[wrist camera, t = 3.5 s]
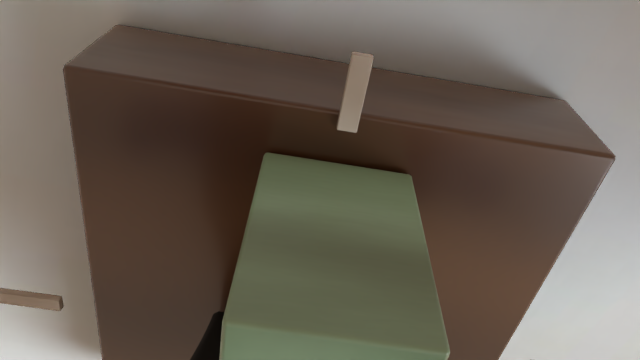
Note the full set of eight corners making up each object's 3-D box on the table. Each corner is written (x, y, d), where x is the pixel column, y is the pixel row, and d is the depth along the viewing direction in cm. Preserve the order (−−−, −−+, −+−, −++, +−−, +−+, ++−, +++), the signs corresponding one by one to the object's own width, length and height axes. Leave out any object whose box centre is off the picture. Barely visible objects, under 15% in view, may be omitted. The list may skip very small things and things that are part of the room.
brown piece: (4, -52, 10) (-96, -23, 7) (682, 68, 11) (773, 125, 8) (81, 378, 18) (43, 454, 15) (467, 426, 18) (484, 505, 16)
